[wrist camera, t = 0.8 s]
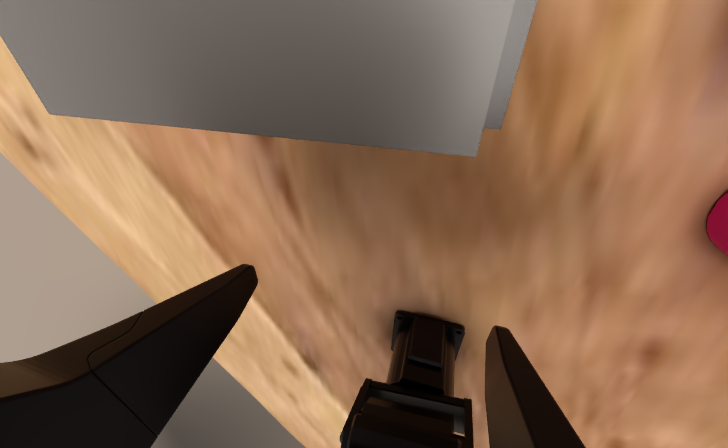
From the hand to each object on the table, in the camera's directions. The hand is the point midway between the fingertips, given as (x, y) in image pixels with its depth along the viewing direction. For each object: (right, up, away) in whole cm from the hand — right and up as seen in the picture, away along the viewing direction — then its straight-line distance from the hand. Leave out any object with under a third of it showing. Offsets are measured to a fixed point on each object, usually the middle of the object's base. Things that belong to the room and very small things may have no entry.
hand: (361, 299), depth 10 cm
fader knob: (0, +11, +2) cm, 11 cm away
